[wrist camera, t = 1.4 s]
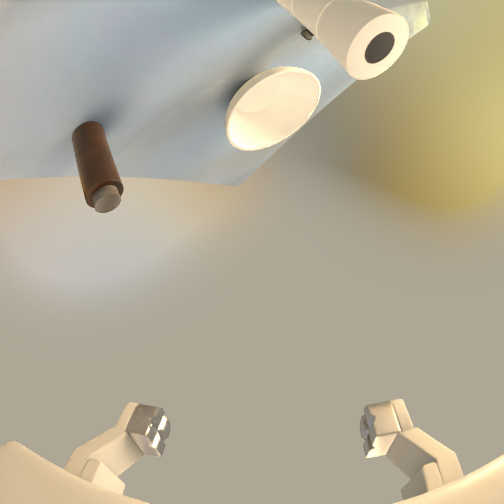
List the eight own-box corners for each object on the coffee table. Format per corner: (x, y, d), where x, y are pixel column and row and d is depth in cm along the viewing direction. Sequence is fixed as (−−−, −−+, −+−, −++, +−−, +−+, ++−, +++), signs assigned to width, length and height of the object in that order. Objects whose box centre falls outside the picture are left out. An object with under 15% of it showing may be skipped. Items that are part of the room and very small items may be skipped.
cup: (319, -34, 21) (419, 17, 17) (310, 15, 31) (391, 74, 27) (257, -35, 19) (361, 10, 15) (254, 23, 30) (336, 86, 26)
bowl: (209, 60, 33) (230, 81, 32) (309, 45, 38) (333, 64, 37) (208, 140, 52) (224, 163, 50) (287, 114, 57) (305, 134, 55)
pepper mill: (70, 150, 33) (87, 220, 30) (73, 123, 29) (89, 193, 26) (100, 145, 37) (123, 212, 33) (106, 119, 33) (130, 186, 30)
